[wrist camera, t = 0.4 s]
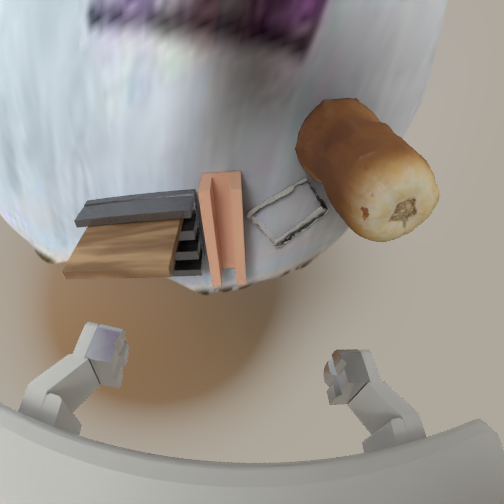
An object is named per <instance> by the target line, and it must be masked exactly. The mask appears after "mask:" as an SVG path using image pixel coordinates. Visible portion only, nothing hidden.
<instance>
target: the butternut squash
mask: <svg viewBox="0 0 504 504" xmlns="http://www.w3.org/2000/svg"><path fill="white" fill-rule="evenodd" d="M295 150H296V153H297V156H298V159H299V162H300V164H301V165H302V167H303V168H304V169H305V170H306V172H307V173H308V174H309V175H310V176H311V177H312V178H314V179H315V180H316V181H318V182H320V183H322V184H323V186H324V189H325V191H326V193H327V196H328V198H329V200H330V202H331V204H332V205H333V207H334V208H335V210H336V211H337V212H338V214H339V215H340V216H341V217H342V218H343V220H344V221H345V222H346V224H347V225H348V226H349V227H350V228H351V229H352V230H353V231H354V232H355V233H357V234H358V235H359V236H361V237H363V238H365V239H368V240H371V241H376V242H386V241H390V240H394V239H396V238H399V237H401V236H403V235H405V234H408V233H410V232H411V231H413V230H414V229H415V228H416V227H417V226H418V225H420V224H421V223H422V222H423V221H424V220H425V219H427V218H428V217H429V216H430V214H431V213H432V211H433V209H434V208H435V206H436V204H437V202H438V200H439V196H440V191H439V189H438V186H437V184H436V181H435V178H434V174H433V172H432V170H431V168H430V166H429V165H428V163H427V161H426V160H425V159H424V158H423V157H422V156H421V155H420V154H418V153H417V152H416V151H415V150H414V149H413V148H412V147H410V146H409V145H408V144H407V143H406V142H405V141H404V140H403V139H402V138H400V137H399V136H397V135H396V134H395V133H394V132H393V131H392V130H391V128H390V127H389V126H388V125H387V124H385V123H381V122H380V121H379V119H378V118H377V117H376V115H375V114H374V113H373V112H372V111H371V110H370V109H369V108H367V107H366V106H365V105H363V104H362V103H360V102H359V100H358V99H356V98H355V99H350V98H344V99H332V100H323V101H322V102H321V103H320V104H319V105H318V106H317V107H316V108H315V109H314V110H313V111H312V112H311V113H310V114H309V115H308V117H307V118H306V119H305V121H304V122H303V124H302V126H301V129H300V131H299V134H298V139H297V144H296V148H295Z"/></svg>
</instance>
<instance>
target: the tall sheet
mask: <svg viewBox="0 0 504 504" xmlns="http://www.w3.org/2000/svg"><path fill="white" fill-rule="evenodd" d="M183 220H184V218H182V219H168V220H154V221H141V222H129V223H118V224H107V225H96V226H88V227H87V229H86V231H85V232H84V234H83V236H82V237H81V239H80V241H79V242H78V244H77V246H76V248H75V250H74V251H73V253H72V255H71V257H70V259H69V260H68V262H67V264H66V266H65V268H64V270H63V273H64V275H65V277H66V279H96V278H97V279H99V278H141V277H142V278H144V277H171V273H172V268H173V264H174V259H175V254H176V250H177V246H178V241H179V237H180V233H181V229H182V224H183Z"/></svg>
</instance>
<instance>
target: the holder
mask: <svg viewBox="0 0 504 504" xmlns="http://www.w3.org/2000/svg"><path fill="white" fill-rule="evenodd" d="M198 196H199V203H200V210H201V217H202V223H203V230H204V236H205V243H206V249H207V255H208V261H209V267H210V273H211V279H212V285H213V286H222V268H236V278H237V285H246V267H245V246H244V226H243V205H242V184H241V171H233V172H216V173H202V176H201V181H200V185H199V190H198Z"/></svg>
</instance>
